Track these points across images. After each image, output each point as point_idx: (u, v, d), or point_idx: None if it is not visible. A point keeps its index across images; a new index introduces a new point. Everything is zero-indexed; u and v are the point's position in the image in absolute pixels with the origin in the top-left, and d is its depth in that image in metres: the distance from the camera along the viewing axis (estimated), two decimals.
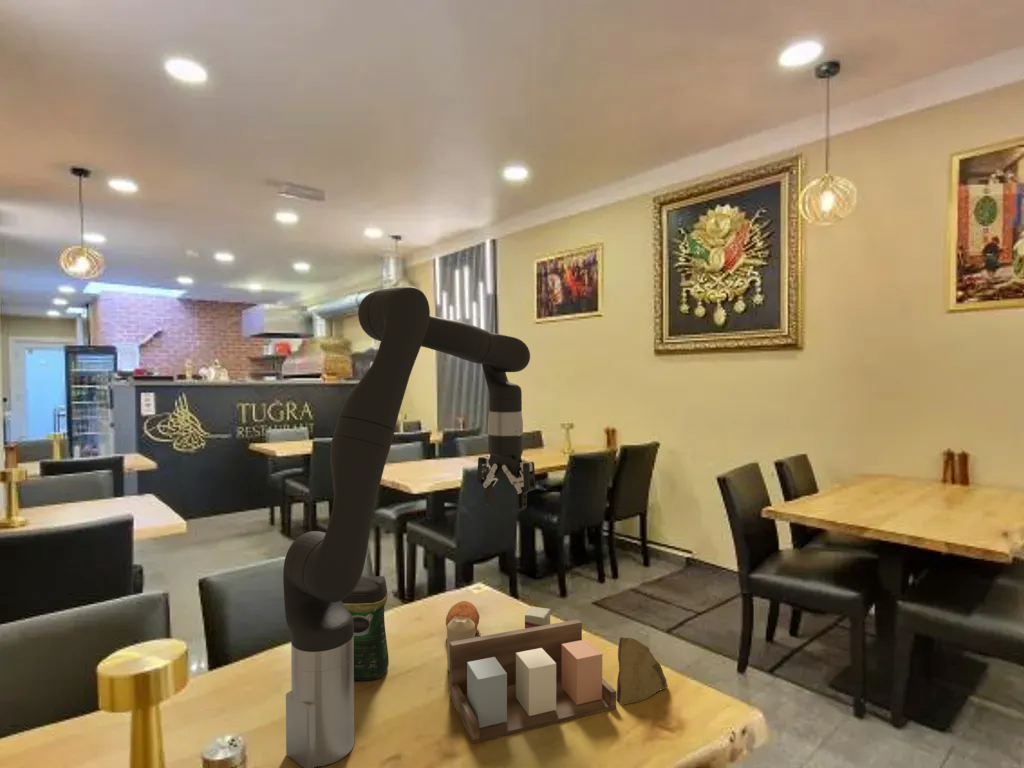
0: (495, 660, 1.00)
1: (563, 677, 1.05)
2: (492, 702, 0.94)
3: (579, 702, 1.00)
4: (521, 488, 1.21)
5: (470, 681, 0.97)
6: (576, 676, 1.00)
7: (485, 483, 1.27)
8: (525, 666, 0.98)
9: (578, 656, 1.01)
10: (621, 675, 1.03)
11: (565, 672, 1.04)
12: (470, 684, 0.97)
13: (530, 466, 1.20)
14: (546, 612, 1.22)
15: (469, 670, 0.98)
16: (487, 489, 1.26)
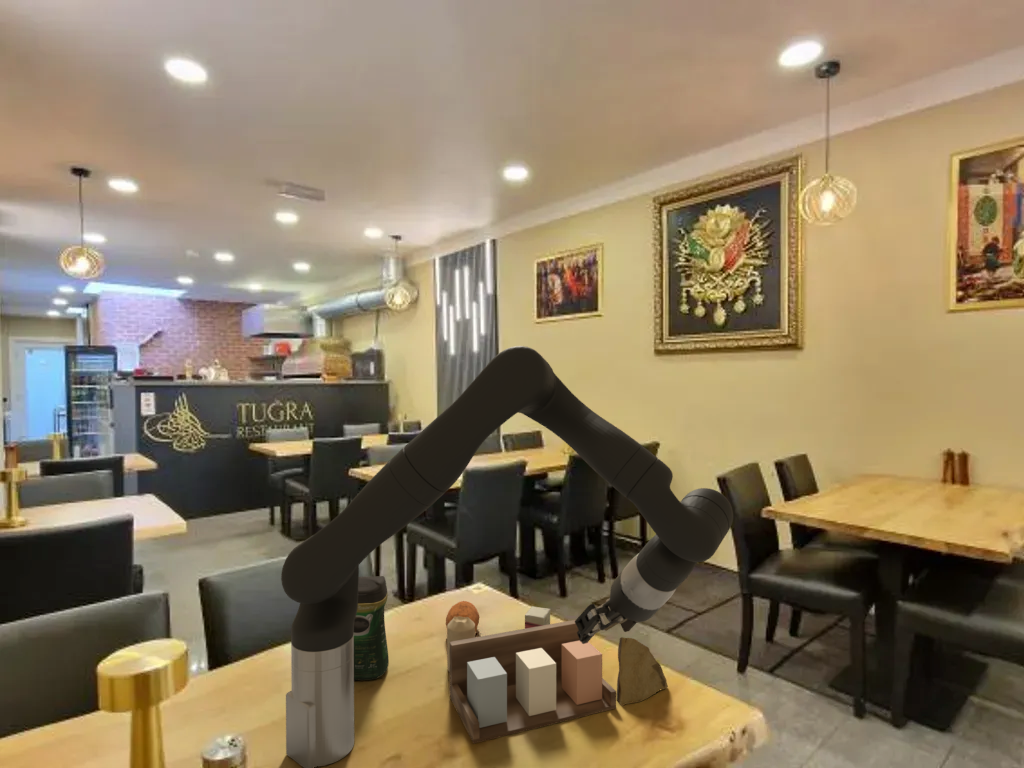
0: (495, 660, 1.00)
1: (563, 677, 1.05)
2: (492, 702, 0.94)
3: (579, 702, 1.00)
4: None
5: (470, 681, 0.97)
6: (576, 676, 1.00)
7: None
8: (525, 666, 0.98)
9: (578, 656, 1.01)
10: (621, 675, 1.03)
11: (565, 672, 1.04)
12: (470, 684, 0.97)
13: (589, 612, 0.89)
14: (546, 612, 1.22)
15: (469, 670, 0.98)
16: None
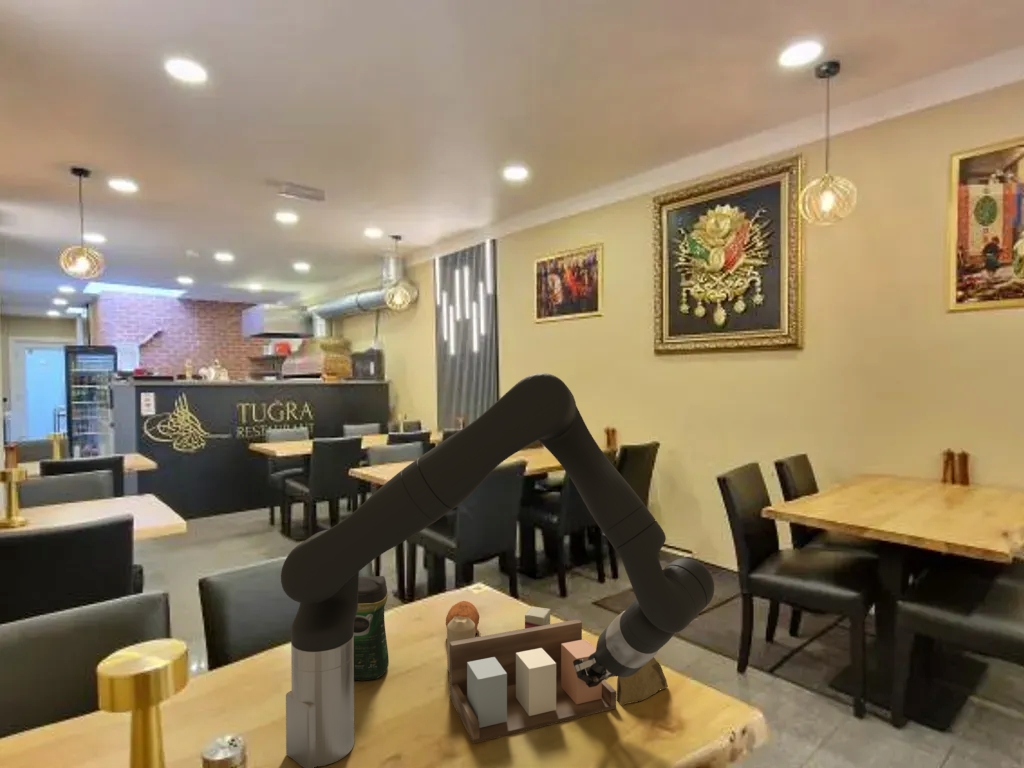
0: (495, 660, 1.00)
1: (563, 677, 1.05)
2: (492, 702, 0.94)
3: (579, 701, 1.01)
4: None
5: (470, 681, 0.97)
6: (576, 676, 1.00)
7: None
8: (525, 666, 0.98)
9: (578, 656, 1.01)
10: None
11: (565, 672, 1.04)
12: (470, 684, 0.97)
13: None
14: (546, 612, 1.22)
15: (469, 670, 0.98)
16: None
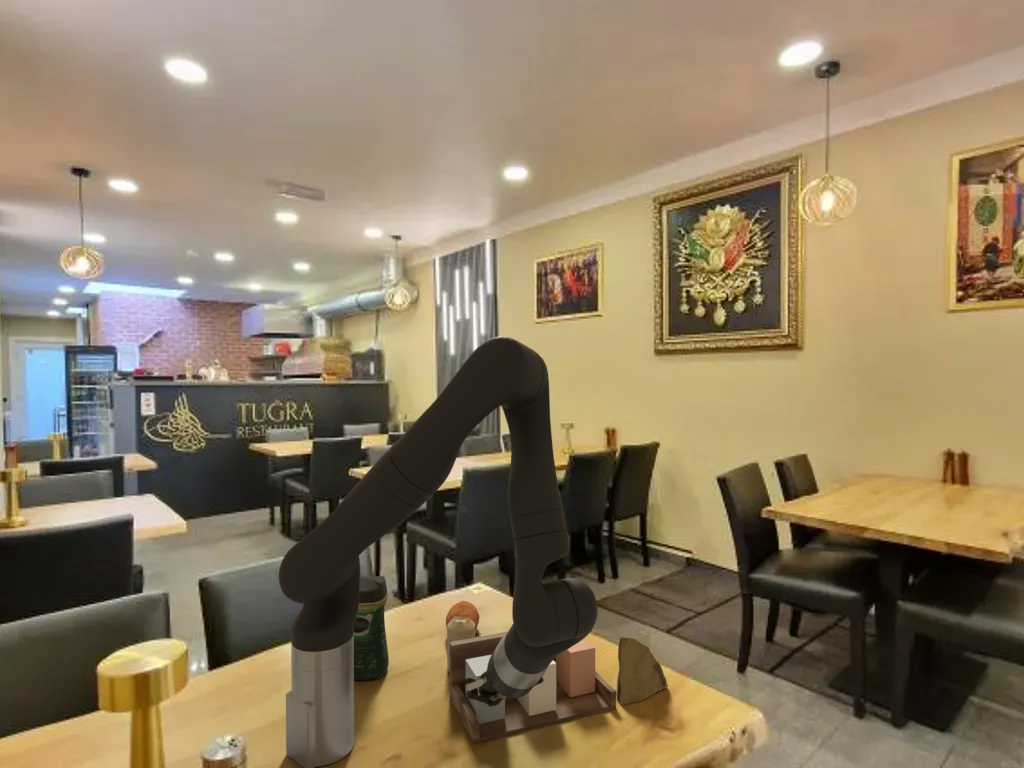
0: None
1: (557, 670, 1.07)
2: None
3: (572, 694, 1.03)
4: None
5: None
6: (570, 669, 1.02)
7: None
8: None
9: (572, 650, 1.03)
10: (621, 675, 1.03)
11: (559, 666, 1.07)
12: None
13: None
14: None
15: (467, 667, 0.99)
16: None
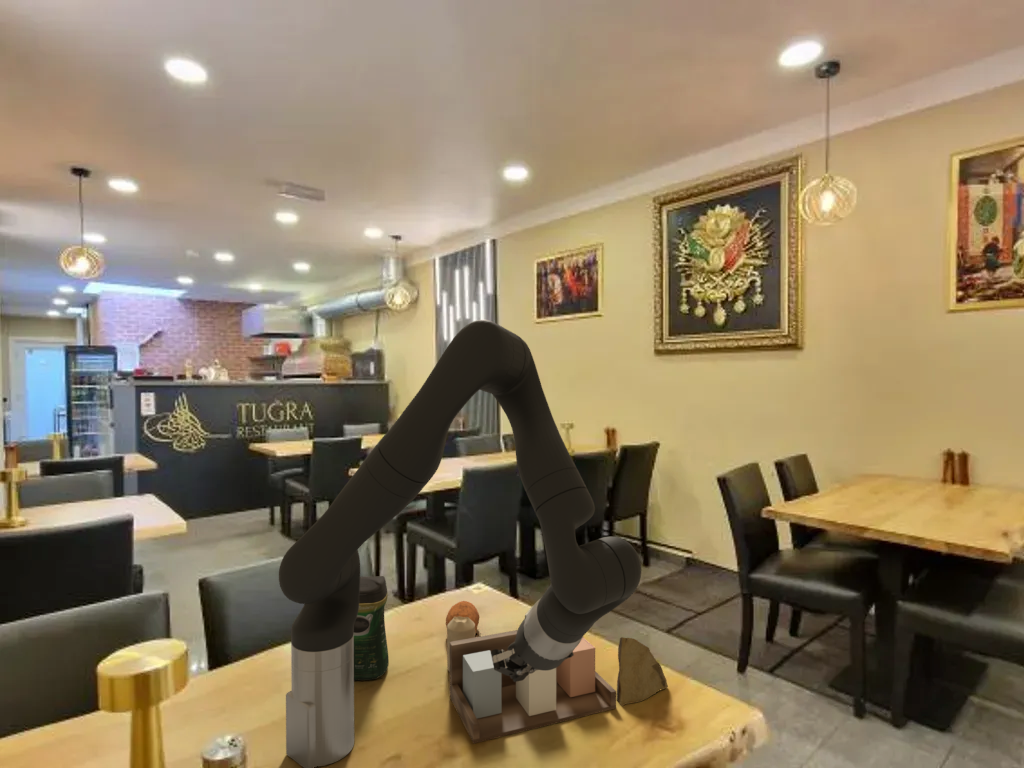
0: (490, 653, 1.02)
1: (557, 670, 1.07)
2: (487, 694, 0.97)
3: (572, 694, 1.03)
4: None
5: (466, 674, 1.00)
6: (570, 669, 1.02)
7: None
8: None
9: None
10: (621, 675, 1.03)
11: (559, 666, 1.07)
12: (465, 677, 1.00)
13: None
14: None
15: (465, 663, 1.00)
16: None
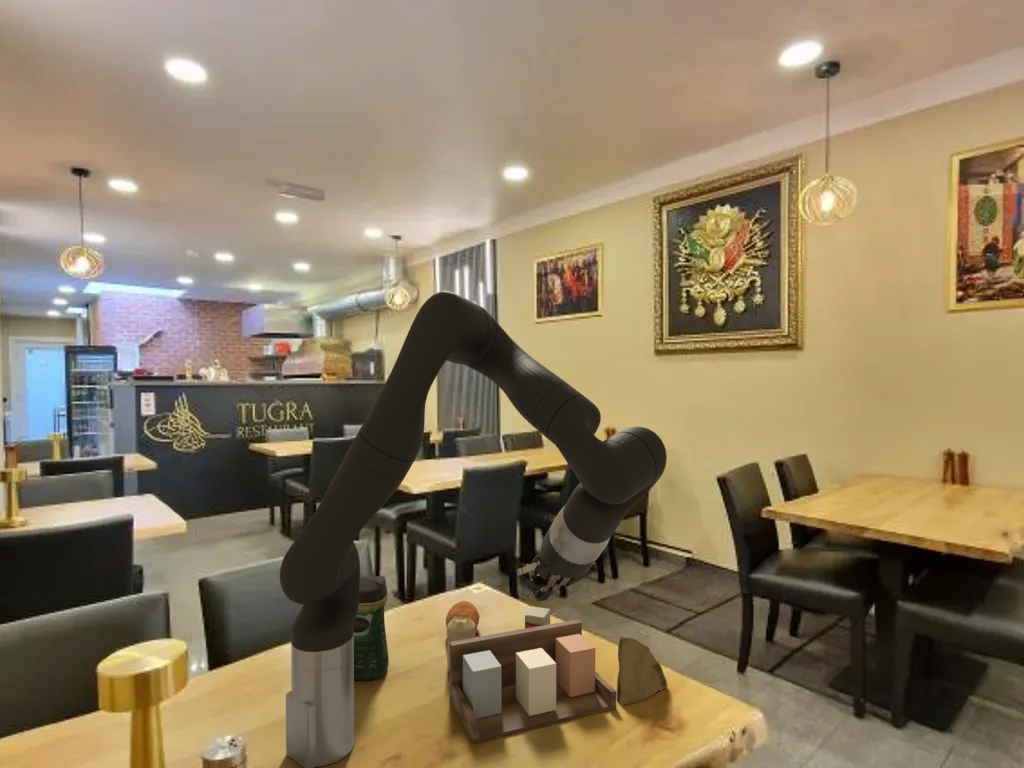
0: (490, 653, 1.02)
1: (557, 670, 1.07)
2: (487, 694, 0.97)
3: (572, 694, 1.03)
4: (539, 575, 0.87)
5: (466, 674, 1.00)
6: (570, 669, 1.02)
7: None
8: (525, 666, 0.98)
9: (572, 650, 1.03)
10: (621, 675, 1.03)
11: (559, 666, 1.07)
12: (465, 677, 1.00)
13: None
14: (546, 612, 1.22)
15: (465, 663, 1.00)
16: None
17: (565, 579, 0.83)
